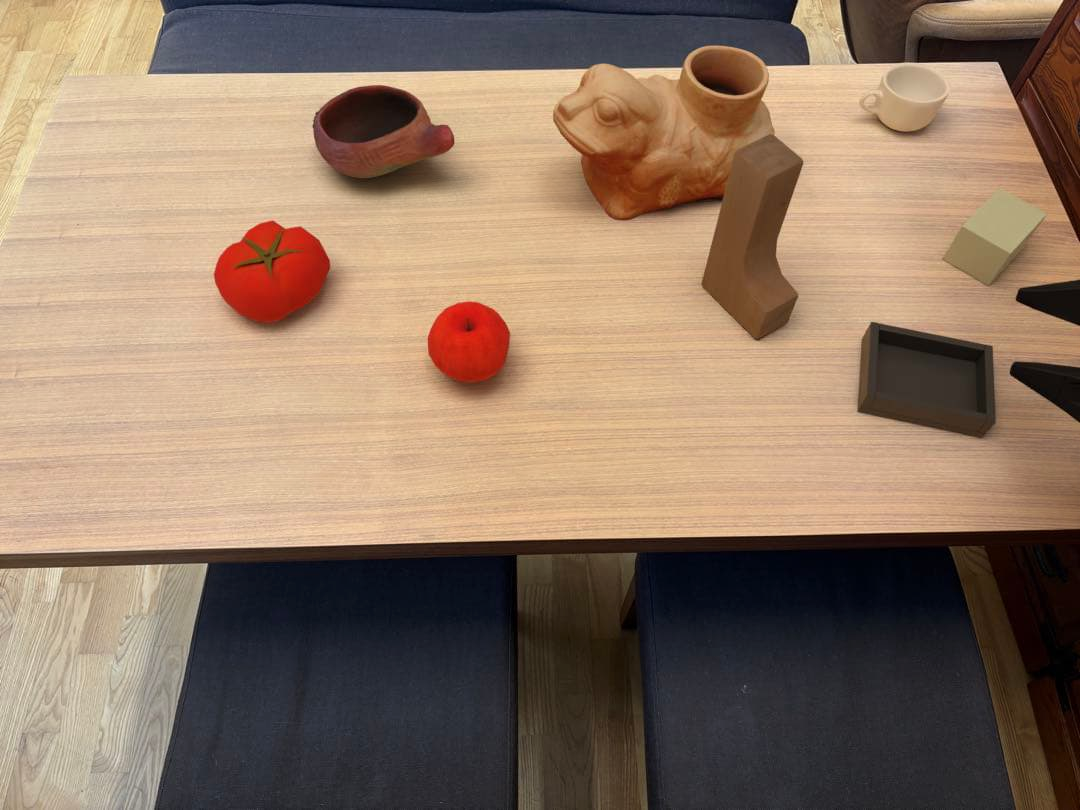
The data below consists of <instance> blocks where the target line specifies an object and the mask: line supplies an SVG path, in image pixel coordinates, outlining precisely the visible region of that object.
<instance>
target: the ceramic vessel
mask: <svg viewBox="0 0 1080 810" xmlns="http://www.w3.org/2000/svg"><path fill="white" fill-rule="evenodd" d="M769 73H770V72H769V70H768V68H767V65H766V64H765V62H764V61H763V59H761V58H760V57H758V56H757V55H755V54H754V53H753V52H751V51H748V50H745V49H742V48H737V47H733V46H726V45H706V46H701V47H699V48H696V49H695V50H693V51H691V52H690V53H688V55H687V56H686V58H685V60H684V61H683V64H682V68H681V72H680V75H679V79H670V78H667V77H665V76H663V75H660V74H653V75H651V76H649V77H647V78H645V77H639V78H636V77H635V76H634V75H632V74H631V73H630V72H628V71H626V70H625V69H623V68H621V67H619V66H616V65H613V64H611V63H597V64H594V65H591V66H590V67H589V68H588V69H587V70H586V71H585V72H584V73H583V75H582V76H581V78H580V82H579V86H578V87H577V89H576V90H575V91H573V92H572V93H570V94H567V95H565V96H563V97H562V98H561V99H559V100H558V101H557V102H556V104H555V105H554V109H553V113H552V121H553V123H554V124H555V126H556V128H557V130H558V132H559V133H560V135H561V136H562V137H563V138H564V139H565V141H566V142H567V143H568V144H569V145H570V146H571V147H572V148H573V149H574V150H576V151H577V152H578V153H579V154H581V159H580V163H581V168H582V172H583V175H584V179H585V182H586V184H587V186H588V188H589V190H590V192H591V193H592V195H593V197H594V198H595V199H596V201H597V202H598V203H599V205H600V206H601V208H602V209H603V211H604V212H605V213H606V215H608V216H609V217H610V218H612V219H613V220H619V221H629V220H632V219H634V218H636V217H638V216H641V215H644V214H649V213H652V212H657V211H663V210H668V209H671V208H674V207H678V206H681V205H686V204H692V203H694V204H695V203H699V202H704V201H716V200H717V201H723V197H724V193H725V189H726V185H727V181H728V177H729V173H730V169H731V165H732V162H733V158H734V154H735V152H736V151H737V150H738V149H740V148H742V147H744V146H746V145H748V144H750V143H752V142H755V141H757V140H759V139H761V138H763V137H765V136H767V135H769V134H772V135H774V136H775V137H776V134H775V132H776V131H775V128H774V126H773V122H772V117H771V113H770V110H769V108H768V106H767V105H766V103H765V101H763V100H762V98H763V96H764V95H765V92H766V89H767V87H768V86H769V80H770V74H769Z"/></svg>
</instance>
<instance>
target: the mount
mask: <svg viewBox="0 0 1080 810" xmlns="http://www.w3.org/2000/svg"><path fill="white" fill-rule="evenodd" d="M993 346H994V345H991V344H984V343H979V342H975V341H970V340H965V339H961V338H956V337H955V338H954V337H950V336H944V335H939V334H935V333H931V332H925V331H919V330H914V329H910V328H904V327H900V326H895V325H890V324H886V323H879V322H876V321H875V322H874V321H871V322H870V323H869V325H868V326H867V329H866V331H865V333H864V334H863V336H862V338H861V348H860V349H861V350H860V351H861V352H860V362H859V363H860V367H859V381H858V394H857V395H858V396H857V410H856V411H857V412H858V413H862V414H868V415H872V416H877V417H881V418H886V419H890V420H895V421H900V422H905V423H910V424H915V425H918V426H923V427H928V428H933V429H937V430H943V431H947V432H951V433H956V434H961V435H965V436H970V437H975V438H979V439H983V438H984V437H985V436H986V435H987V433H988V432H989V431H990V430H991V429H992V428H993V427H994V425H995V424H996V422H997V419H996V418H997V417H996V397H995V396H996V395H995V394H996V393H995V370H994V369H995V368H994V347H993Z"/></svg>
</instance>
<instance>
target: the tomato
mask: <svg viewBox="0 0 1080 810" xmlns="http://www.w3.org/2000/svg"><path fill="white" fill-rule="evenodd" d="M330 270H331V259H330V258H329V255H328V253H327V252H326V249H325V248H324V246H323V244H322V242H321V241H320V239H318V237H316V236H315V235H313V234H312V233H311V232H309V231H308V230H306V229H305V228H304V227H303V226H302V225H299V226H294V227H289V228H288V227H287V228H285V227H284V226H282V225H281V224H280V223H278V222H276V221H275V220H272V219H271V220H268V221H264V222H263V221H262V222H260V223H258V224H256V225H255V226H253V227H251V228H250V229H248V230H247V231H246V233H244V235H243V237H242V236H241V239H240V241H238V242H233V243H232V244H230V245H229V246H228V247H226V248H225V249H224V251H223V252H222V253H220V255H219V257H218V259H217V261H216V264H215V268H214V272H213V278H214V283H215V285H216V288H217V290H218V292H219V295H220V296H221V297H222V299H223V300H224V301H225V303H226V304H228V306H230V307H231V308H232V309H233V310H234V311H236V313H238V314H239V315H241V316H243V317H245V318H247V319H250V320H253V321H255V322H258V323H275V322H277V321H280V320H283V319H285V318H286V317H287V316H289V315H290V314H291V313H292V312H295V311H298V310H301V309H303V308H304V307H305V306H306V305H308V304H309V303H311V302H312V301H313V300H314V298H316V297H317V295H319V294H320V293H321V290H322V289H323V286H324V284H325V281H326V278H327V277H328V274H329V272H330Z"/></svg>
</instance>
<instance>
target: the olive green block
mask: <svg viewBox="0 0 1080 810" xmlns="http://www.w3.org/2000/svg"><path fill="white" fill-rule="evenodd" d="M1047 216H1048V213H1047V212H1045V211H1043V210H1042V209H1039V208H1037V207H1036V206H1034V205H1032V204H1030V203H1028V202H1026V201H1025V200H1023V199H1021V198H1019V197H1017V196H1016V195H1014V194H1012V193H1010V192H1008V191H1006V190H1004V189H1003V188H1000V187H999V188H998V189H996V191H994V193H993V194H992V195H991V196H989V198H988V199H987V200H986V201H985V202H983V204H982V205H981V206H980V207H979V208H978V209H977V210H976V211H975V212H974V213H973V214H972V215H971V216H970V217H969V218H968V219H967V220H966V221H965V222H964V223H963V224H962V225H961V226H960V228H959V230H958V232H957V233H956V235H955V237H954V238H953V240H952V242H951V243H950V245H949V247H948V249H947V251H946V252H945V254H944V255H943V256H942V260H943V261H945V262H948V264H950V265H952V266H953V267H956V268H957V269H958V270H960V271H962V272H963V273H965V274H967V275H969V276H970V277H972V278H973V279H976V280H977V281H980V282H981V283H982V284H984V285H985V286H987V287H989V286H990V285H991V284H992V283H993V282H994V281H995V280H996V278H998V277H999V275H1000V274H1001V273H1002V272H1003V271H1004V270H1005V269H1006V268H1007V267H1008V265H1010V263H1012V261H1013V260H1014V259H1015V258H1016V257H1017V256H1018V254H1020V252H1021V251H1022V250H1023V249H1024V248H1025V247H1026V246H1027V244H1028V243H1029V242H1030V240H1031V238H1032V237H1033V235H1034V234H1035V233H1036V231H1037V230H1038V228H1039V227H1040V225H1041V224H1042V222H1043V221H1044V219H1045V218H1046V217H1047Z"/></svg>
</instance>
